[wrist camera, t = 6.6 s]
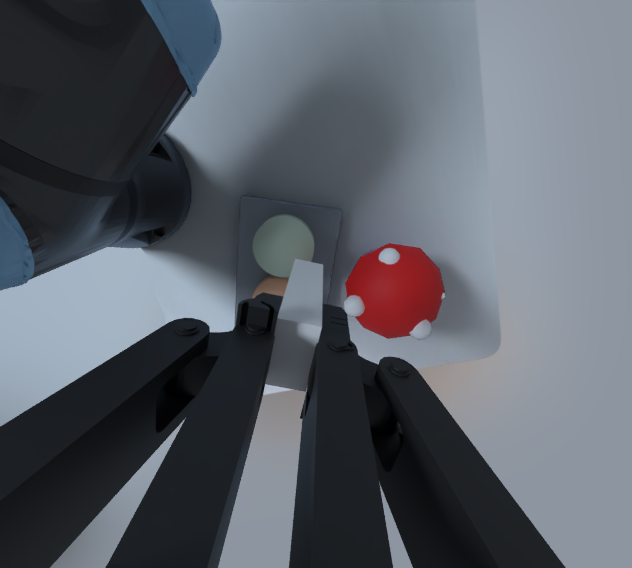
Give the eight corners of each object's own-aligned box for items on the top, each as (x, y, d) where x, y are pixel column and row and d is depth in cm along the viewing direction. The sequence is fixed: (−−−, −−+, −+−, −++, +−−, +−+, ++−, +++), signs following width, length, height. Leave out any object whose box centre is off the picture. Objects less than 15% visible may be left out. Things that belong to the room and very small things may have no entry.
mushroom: (327, 253, 41) (328, 289, 29) (406, 214, 38) (440, 237, 27) (361, 318, 44) (373, 372, 33) (435, 285, 42) (476, 331, 31)
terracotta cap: (253, 317, 41) (249, 325, 39) (256, 269, 38) (252, 276, 36) (303, 323, 41) (302, 332, 39) (310, 277, 38) (309, 284, 36)
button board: (236, 352, 47) (231, 364, 44) (244, 195, 38) (238, 198, 35) (315, 362, 47) (315, 375, 44) (341, 209, 38) (342, 213, 36)
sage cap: (254, 266, 37) (250, 273, 35) (258, 210, 34) (254, 213, 32) (310, 274, 37) (309, 281, 35) (318, 218, 34) (317, 222, 32)
